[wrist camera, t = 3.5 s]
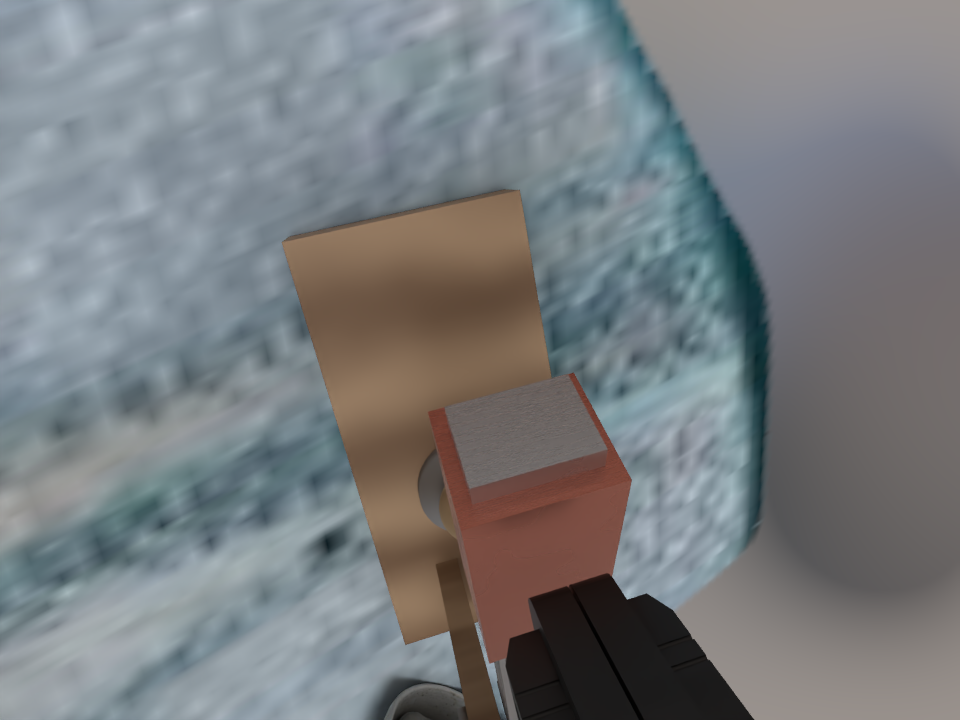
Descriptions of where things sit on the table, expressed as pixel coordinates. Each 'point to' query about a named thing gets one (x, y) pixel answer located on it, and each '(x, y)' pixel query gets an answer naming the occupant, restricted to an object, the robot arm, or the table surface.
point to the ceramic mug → (426, 703)
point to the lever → (528, 501)
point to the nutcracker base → (421, 382)
